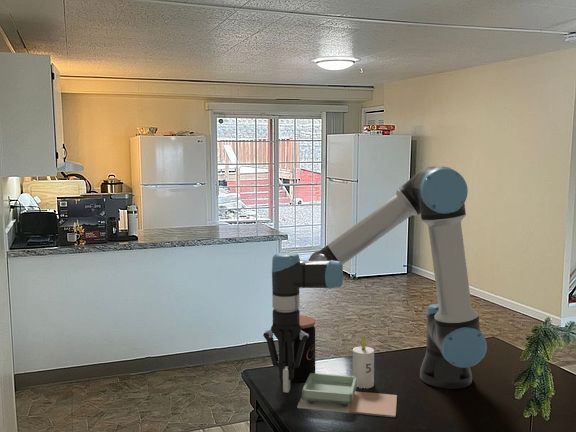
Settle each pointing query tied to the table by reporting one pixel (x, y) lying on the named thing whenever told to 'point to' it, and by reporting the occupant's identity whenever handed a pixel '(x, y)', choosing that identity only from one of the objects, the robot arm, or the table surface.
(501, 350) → the table surface
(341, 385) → the mint green tray
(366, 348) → the candle
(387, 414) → the board
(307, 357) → the coffee jar
